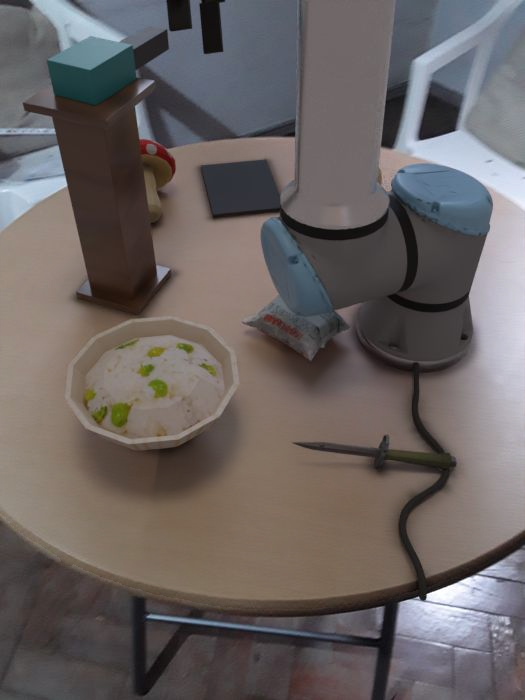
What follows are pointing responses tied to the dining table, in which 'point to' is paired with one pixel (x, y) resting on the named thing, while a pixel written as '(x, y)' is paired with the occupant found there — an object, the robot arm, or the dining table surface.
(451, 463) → the knife
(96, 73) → the teal long block
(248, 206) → the mat
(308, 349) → the packaged food
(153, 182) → the decorative mushroom
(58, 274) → the dining table surface
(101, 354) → the bowl
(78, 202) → the stand
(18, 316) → the dining table surface
